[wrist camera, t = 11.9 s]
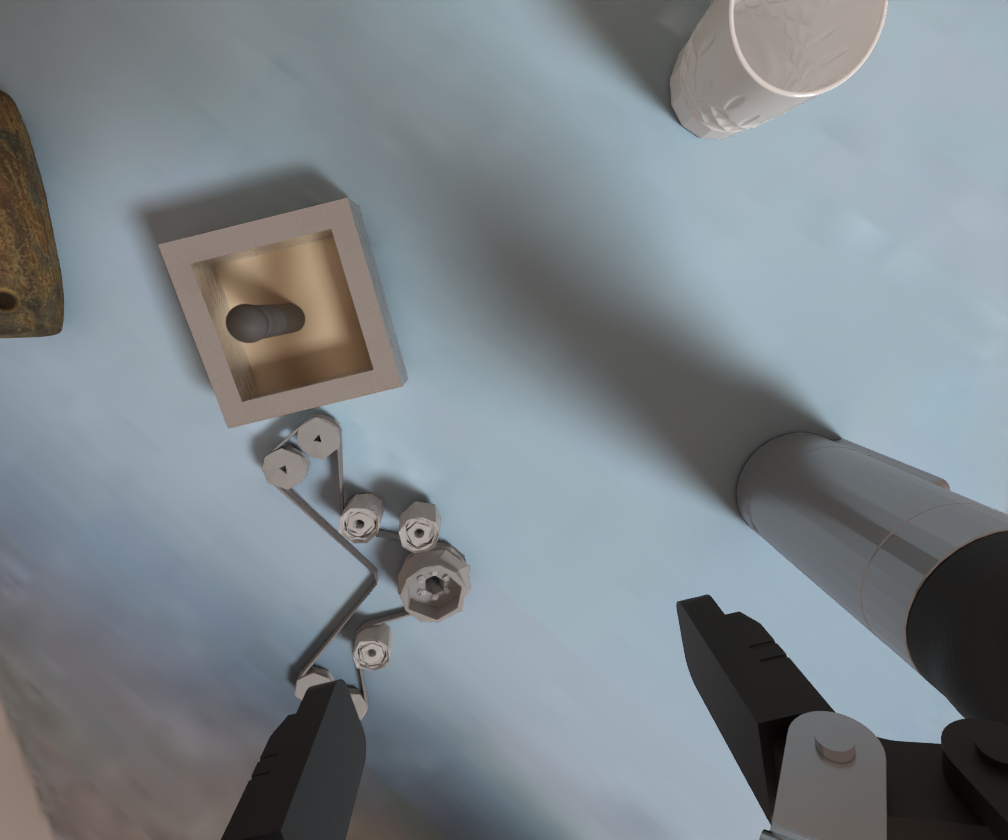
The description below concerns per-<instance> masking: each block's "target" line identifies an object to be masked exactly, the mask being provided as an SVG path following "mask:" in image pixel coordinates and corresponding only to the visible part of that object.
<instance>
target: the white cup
mask: <svg viewBox="0 0 1008 840" xmlns="http://www.w3.org/2000/svg"><path fill="white" fill-rule="evenodd" d="M887 6H888V0H713V1H712V3H711V4H710V6H709V7H708V9H707V11H706V12H705V14H704V16H703V17H702V18H701V20H700V21H699V23H698V24H697V26H696V27H695V29H694V31H693V33H692V35H691V37H690V39H689V41H688V42H687V43H686V45H685V46H684V47H683V49H682V50H681V52H680V53H679V54H678V57H677V60H676V63H675V66H674V69H673V71H672V74H671V77H670V93H671V105H672V107H673V109H674V111H675V113H676V115H677V117H678V119H679V121H680V123H681V125H682V126H683V127H685V128H686V129H688V130H689V131H690V132H692V133H693V134H695V135H696V136H698V137H699V138H704V139H714V140H723V139H726V138H728V137H731V136H733V135H736V134H738V133H741V132H743V131H745V130H747V129H752V128H754V127H756V126H759V125H761V124H763V123H765V122H767V121H769V120H771V119H773V118H775V117H778V116H780V115H782V114H784V113H786V112H788V111H790V110H792V109H794V108H796V107H798V106H800V105H802V104H804V103H806V102H808V101H810V100H812V99H814V98H816V97H818V96H819V95H821V94H823V93H825V92H827V91H829V90H831V89H833V88H835V87H837V86H839V85H840V84H842V83H843V82H844V81H846V80H847V79H848V78H850V77H851V76H852V75H853V74H854V73H855V72H856V71H857V70H858V69H859V68H860V67H861V65H862V64H863V63H864V62H865V60H866V59H867V58H868V56H869V55H870V53H871V52H872V50H873V48H874V46H875V44H876V42H877V40H878V38H879V36H880V33H881V31H882V28H883V25H884V21H885V17H886V13H887Z"/></svg>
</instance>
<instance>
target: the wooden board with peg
mask: <svg viewBox="0 0 1008 840" xmlns="http://www.w3.org/2000/svg"><path fill="white" fill-rule="evenodd" d="M215 268H216V271H217V273H218V276H219V279H220V282H221V285H222V287H223V290H224V293H225V296H226V298H227V301H228V304H229V307H230V311H229V312H228V314H227V317H226V327H227V330H228V332H229V333H230V335H231V336H232V337H234V338H235V339H236V340H238V341H240V342H242V343H243V346H244V348H245V351H246V354H247V357H248V360H249V362H250V365H251V368H252V371H253V373H254V376H255V379H256V382H257V385H258V387H259V390H260V393H265V392H269V391H273V390H277V389H281V388H285V387H289V386H293V385H298V384H302V383H306V382H310V381H314V380H318V379H322V378H326V377H330V376H335V375H339V374H343V373H347V372H351V371H355V370H359V369H363V368H367V367H372V362H371V359H370V356H369V352H368V349H367V346H366V342H365V339H364V336H363V332H362V329H361V326H360V322H359V319H358V316H357V313H356V309H355V306H354V303H353V299H352V296H351V293H350V289H349V286H348V283H347V279H346V276H345V273H344V269H343V266H342V263H341V259H340V256H339V253H338V249H337V246H336V243H335V239H334V237H331V238H327V239H323V240H319V241H315V242H311V243H307V244H302V245H298V246H294V247H290V248H286V249H282V250H278V251H274V252H270V253H266V254H262V255H258V256H254V257H250V258H246V259H242V260H238V261H234V262H230V263H226V264H222V265H218V266H215Z"/></svg>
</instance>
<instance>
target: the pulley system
mask: <svg viewBox="0 0 1008 840" xmlns="http://www.w3.org/2000/svg"><path fill="white" fill-rule="evenodd" d="M297 432H298V435H297V444H298V445H299V446H300V447H301V448H302V449H303V450H304V451H305V452H306V453H307V454H308V455H309V456H310V457H315V458H320V459H325V458H326V457H327V456H329V455H330V454H331V453H333V452H334V451H335V450H337V449H338V466H339V483H340V501H341V517H340V524H339V531H338V532H336V531H335V530H334V529H333V528H332V527H331V526H330V525H329V524H328V523H327V522H325V521H324V520H323V519H322V518H321V517H320V516H319V515H318V514H317V513H316V512H315V511H313V510H312V509H311V508H310V507H309V506H308V505H307V504H306V503H305V502H304V501H303V500H301V499H300V498H299V497H298V496H297V495H296V494H295V493H294V492H293V491H292V490H290V488H292V487H294V486H295V485H297V484H298V483H300V482H301V481H302V479H303V478H305V476H306V474H307V471H308V468H309V465H310V462H309V460H308V459H307V457H306V456H305V454H304V452H302V451H300V450H298V449H296V448H294V447H292V446H282V445H283V444H284V443H285V442H287V441H288V440H289V439H290V438H291V437H292V436H293V435H294V434H296V433H297ZM262 470H263V472H264V475H265V477H266V479H267V482H268V483H270V484H272V485H274V486H275V487H276V488H277V489H278V490H279V491H281V492H282V493H283V494H284V495H285V496H286V497H287V498H289V499H290V500H291V501H292V502H293V503H294V504H295V505H296V506H298V507H299V508H300V509H301V510H302V511H303V512H304V513H306V514H307V515H308V516H309V517H310V518H311V519H312V520H313V521H315V522H316V523H317V524H318V525H319V526H320V527H321V528H322V529H324V530H325V531H326V532H327V533H328V534H329V535H330V536H332V537H333V538H334V539H335V540H336V541H337V542H338V543H339V544H341V545H342V546H343V547H344V548H345V549H346V550H347V551H349V552H350V553H351V554H352V555H353V556H354V557H355V558H356V559H358V560H359V561H360V562H361V563H362V564H363V565H364V566H366V567H367V568H368V569H369V570H370V571H371V572H372V573H373V574H374V576H375V579H376V582H375V583H374V584H373V585H372V586H371V588H370V589H369V590H368V591H367V592H366V594H365V595H364V596H363V597H362V598H361V600H360V601H359V602H358V603H357V605H356V606H355V607H354V608H353V609H352V611H351V612H350V613H349V614H348V615H347V617H346V618H345V619H344V620H343V621H342V623H341V624H340V625H339V626H338V627H337V629H336V630H335V631H334V632H333V633H332V635H331V636H330V637H329V638H328V639H327V641H326V642H325V643H324V644H323V645H322V647H321V648H320V649H319V650H318V651H317V653H316V654H315V655H314V656H313V657H312V659H311V660H310V661H309V662H308V664H307V665H306V666H305V667H304V668H303V670H301V671H300V673H299V676H298V678H297V681H296V684H295V696H297V697H298V698H299V699H301V700H302V699H303V697H304V695H305V692H306V690H307V689H308V688H309V687H310V686H314V685H318V684H322V683H327V682H331V681H334V678H333V676H332V674H331V672H330V671H329V670H328V669H323V668H318V667H315V666H314V665H313V664H314V662H315V661H316V660H317V659H318V657H319V656H320V655H321V654H322V652H323V651H324V650H325V649H326V647H327V646H328V645H329V644H330V642H331V641H332V640H333V639H334V637H335V636H336V635H337V634H338V632H339V631H340V630H341V629H342V627H343V626H344V625H345V624H346V622H347V621H348V620H349V619H350V617H351V616H352V615H353V613H354V612H355V611H356V610H357V608H358V607H359V606H360V605H361V603H362V602H363V601H364V600H365V598H366V597H367V596H368V595H369V593H370V592H371V591H372V590H373V588H374V587H375V586H376V585H377V582H378V571H377V568H376V567H375V566H374V565H373V564H371V563H370V562H369V561H368V560H367V559H366V558H365V557H364V556H363V555H362V554H361V553H359V552H358V551H357V550H356V549H355V548H354V547H353V546H352V545H351V544H350V543H348V542H347V541H346V540H345V539H344V538H343V537H342V536H341V535H343V536H344V537H345V538H347V539H348V540H350V541H351V542H353V543H367V542H368V541H369V540H371V539H372V538H373V537H374V536H377V537H383V538H389V539H395V540H400V541H401V544H402V546H403V547H404V548H405V549H407V550H409V551H411V553H410V554H409V555H407V557H406V559H405V562H404V564H403V566H402V568H401V570H400V573H399V575H398V578H397V580H398V594H399V595H400V596H401V599H402V602H403V605H404V608H405V611H403V612H399V613H396V614H392V615H388V616H384V617H380V618H377V619H373V620H369V621H365V622H364V623H363V624H362V625H361V626H360V627H359V628H358V629H357V630H356V633H355V646H354V650H353V659H354V661H355V664H356V667H357V668H359V669H360V674H361V680H362V686H363V692H364V694H363V693H362V692H361V691H360V690H359V689H356V688H349V687H348V689H349V692H350V695H351V697H352V700H353V703H354V705H355V708H356V711H357V714H358V716H359V719H360V720H362V718H363V717H364V715H365V713H366V712H367V709H368V694H367V688H366V683H365V677H364V671H363V669H367V670H377V669H380V668H382V667H385V666H386V664H387V663H388V662H389V659H390V653H391V647H392V641H393V633H392V631H391V629H390V627H389V626H388V625H386V624H385V623H386V622H389V621H392V620H396V619H399V618H403V617H406V616H410V615H412V616H414V617H415V618H416V619H418V620H419V621H421V622H440V621H442V620H444V619H446V618H448V617H450V616H452V615H454V614H456V613H458V612H460V611H462V607H463V601H464V598H465V596H466V595H467V594H468V592H469V591H470V589H471V583H470V576H469V572H470V566H469V565H468V564H467V563H466V560H464V559H465V556H464V555H463V554H462V553H461V552H459V551H458V550H457V549H456V548H455V547H453V546H452V545H451V544H448V543H443V542H438V537H439V530H440V524H441V517H440V515H439V512H438V510H437V508H436V505H435V504H429V503H422V502H416V501H415V502H414V503H413V504H411V505H410V506H409V507H407V508H406V510H405V511H404V512H403V513H402V514H401V515H400V524H399V534H398V533H392V532H386V531H381V530H379V527H380V523H381V520H382V516H383V513H384V507H383V501H382V500H381V499H379V498H378V497H376V496H375V495H373V494H356V495H355V496H353V497H352V498H351V499H350V500H349V501H348V503H347V504H346V506H345V508H344V490H343V461H342V431H341V428H340V423H339V422H337V421H336V420H334V419H333V418H331V417H329V416H326V415H319V414H312V415H311V416H310V417H309V418H308V419H306V420H305V421H304V422H303V423H302V424H301V425H300V426H299V427H298V428H296V429H295V430H294V431H293V432H292V433H291V434H290V435H289V436H288V437H286V438H285V439H284V440H283V441H282V442H281V443H280V444H279V445H278V446H277V447H275V448H274V449H273V450H272V451H271V452H270V453H269V454H268V455H267V456H265V459H264V462H263V465H262ZM339 533H340V534H341V535H340V534H339ZM432 576H436V577H438V578H439V581H436V580H433V579H430V577H432Z"/></svg>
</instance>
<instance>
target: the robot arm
mask: <svg viewBox="0 0 1008 840" xmlns="http://www.w3.org/2000/svg"><path fill="white" fill-rule="evenodd" d="M737 503H738V507H739V511H740V513H741V515H742V517H743V519H744V520H745V522H746V523H747V524H748V525H749V526H750V527H751V528H752V529H753V530H754V531H755V532H756V533H758V534H759V535H760V536H761V537H762V538H763V539H764V540H766V541H767V542H768V543H769V544H770V545H771V546H773V547H774V548H775V549H776V550H777V551H778V552H779V553H780V554H781V555H783V556H784V557H785V558H786V559H787V560H788V561H790V562H791V563H792V564H793V565H794V566H795V567H796V568H798V569H799V570H800V571H801V572H802V573H803V574H805V575H806V576H807V577H808V578H809V579H810V580H812V581H813V582H814V583H815V584H816V585H817V586H818V587H820V588H821V589H822V590H823V591H824V592H825V593H827V594H828V595H829V596H830V597H831V598H832V599H833V600H835V601H836V602H837V603H838V604H839V605H840V606H842V607H843V608H844V609H845V610H846V611H847V612H849V613H850V614H851V615H852V616H853V617H854V618H855V619H857V620H858V621H859V622H860V623H861V624H862V625H864V626H865V627H866V628H867V629H868V630H869V631H870V632H872V633H873V634H874V635H875V636H876V637H877V638H879V639H880V640H881V641H882V642H883V643H884V644H886V645H887V646H888V647H889V648H890V649H892V650H893V651H894V652H895V653H896V654H897V655H898V656H900V657H901V658H902V659H903V660H904V661H905V662H906V663H908V664H909V665H910V666H911V667H912V668H913V669H915V670H916V671H917V672H918V673H919V674H920V675H921V676H923V677H924V678H925V679H926V680H927V681H928V682H929V683H930V684H931V685H932V686H934V687H935V688H936V689H937V690H938V691H939V692H941V693H942V694H943V695H944V696H945V697H946V698H947V699H948V700H949V702H950V703H951V704H952V705H953V706H954V707H955V708H956V710H957V711H958V712H959V713H960V714H961V715H962V716H963V717H964V718H965V719H961V720H957V721H954V722H952V723H950V724H949V725H948V726H946V727H945V729H944V730H943V732H942V736H941V744H933V743H918V742H902V741H893V740H887V739H883V738H879V737H876V736H875V734H874V733H873V732H871V731H870V730H869V729H868V728H867V727H866V726H864V725H863V724H861V723H860V722H858V721H856V720H854V719H852V718H850V717H848V716H845V715H842V714H839V713H836V712H835V711H834V710H833V709H832V708H831V707H830V706H829V704H828V703H827V702H826V701H825V700H824V699H823V697H822V696H821V695H820V694H819V693H818V691H817V690H816V689H815V688H814V687H813V685H812V684H811V683H810V682H809V681H808V680H807V678H806V677H805V676H804V675H803V674H802V672H801V671H800V670H799V669H798V668H797V667H796V665H795V664H794V663H793V662H792V661H791V659H790V658H787V656H786V653H785V652H784V651H783V650H782V649H781V648H780V646H779V645H778V644H776V643H775V641H774V639H773V638H772V637H771V636H770V634H769V633H768V632H767V631H766V630H765V629H764V627H763V626H762V625H761V624H760V623H758V622H757V621H755V620H753V619H752V618H750V617H748V616H746V615H745V614H743V613H741V612H735V613H731V614H726V615H725V614H724V613H723V612H722V610H721V609H720V608H719V606H718V605H717V604H716V602H715V601H714V600H713V598H712V597H711V596H710V595H703V596H699V597H695V598H691V599H686V600H682V601H678V602H677V605H676V606H677V613H678V619H679V625H680V630H681V636H682V642H683V647H684V653H685V658H686V662H687V666H688V669H689V672H690V675H691V677H692V680H693V682H694V684H695V686H696V688H697V690H698V692H699V694H700V696H701V697H702V699H703V701H704V703H705V705H706V707H707V708H708V710H709V712H710V714H711V716H712V718H713V720H714V721H715V723H716V725H717V727H718V729H719V731H720V732H721V734H722V736H723V738H724V740H725V742H726V743H727V745H728V747H729V749H730V751H731V753H732V754H733V756H734V758H735V760H736V762H737V764H738V766H739V767H740V769H741V771H742V773H743V775H744V777H745V778H746V780H747V782H748V784H749V786H750V788H751V789H752V791H753V793H754V795H755V797H756V799H757V801H758V802H759V804H760V806H761V808H762V810H763V812H764V813H765V815H766V817H767V819H768V821H769V823H770V824H771V828H770V831H767V830H763V831H762V833H761V835H760V838H759V840H1008V515H1007V514H1005V513H1003V512H1000V511H998V510H995V509H992V508H990V507H988V506H985V505H983V504H980V503H978V502H976V501H973V500H971V499H969V498H966V497H964V496H961V495H959V494H957V493H954V492H952V491H950V487H949V484H948V483H947V482H946V481H945V480H944V479H942V478H940V477H937V476H935V475H932V474H930V473H927V472H925V471H922V470H920V469H917V468H915V467H912V466H910V465H907V464H905V463H902V462H900V461H897V460H895V459H892V458H890V457H887V456H885V455H882V454H880V453H878V452H875V451H873V450H870V449H868V448H865V447H863V446H860V445H858V444H855V443H853V442H850V441H848V440H845V439H840V440H836V441H831V440H828V439H826V438H824V437H821V436H819V435H816V434H811V433H791V434H786V435H782V436H779V437H777V438H775V439H773V440H770V441H769V442H767V443H766V444H764V445H763V446H762V447H760V448H759V449H758V450H757V451H756V452H755V453H754V454H753V455H752V456H751V457H750V458H749V460H748V461H747V463H746V464H745V466H744V467H743V470H742V472H741V474H740V477H739V480H738V485H737ZM365 758H366V740H365V734H364V730H363V727H362V724H361V722H360V719H359V716H358V714H357V711H356V708H355V705H354V703H353V700H352V697H351V695H350V692H349V689H348V687H347V684H346V683H345V681H344V680H342V679H339V680H335V681H331V682H327V683H322V684H318V685H314V686H310V687H309V688H308V689H307V690H306V692H305V695H304V697H303V699H302V701H301V704H300V706H299V708H298V710H297V713H296V714H292V715H288V716H287V717H286V719H285V720H284V721H283V722H282V723H281V724H280V726H279V727H278V728H277V729H276V730H275V731H274V733H273V734H272V735H271V736H270V738H269V740H268V742H267V744H266V747H265V749H264V751H263V753H262V755H261V757H260V762H258V763H257V765H256V767H255V770H254V772H253V774H252V779H251V780H250V781H249V782H248V784H247V786H246V788H245V790H244V792H243V795H242V797H241V799H240V801H239V803H238V805H237V807H236V809H235V811H234V813H233V815H232V818H231V820H230V822H229V824H228V826H227V828H226V830H225V832H224V834H223V836H222V838H221V840H345V839H346V835H347V831H348V827H349V823H350V819H351V815H352V811H353V807H354V803H355V799H356V795H357V791H358V787H359V783H360V779H361V775H362V771H363V767H364V763H365Z"/></svg>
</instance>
